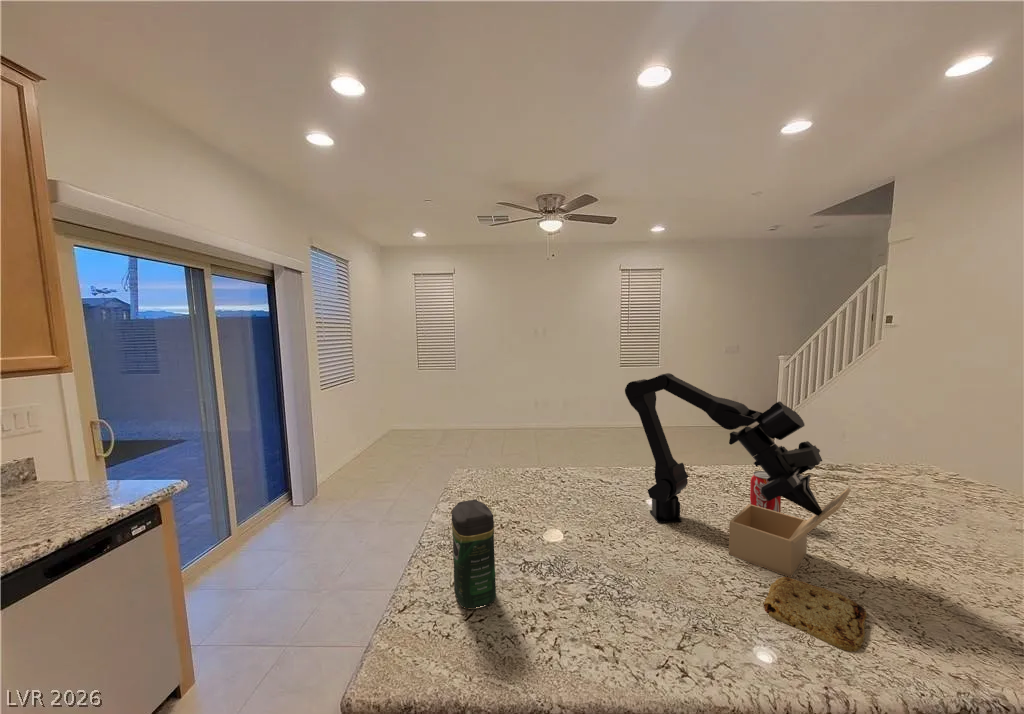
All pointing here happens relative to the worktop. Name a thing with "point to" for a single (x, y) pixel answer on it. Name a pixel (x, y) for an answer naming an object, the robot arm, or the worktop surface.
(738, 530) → the carton
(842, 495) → the lid flap
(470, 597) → the coffee jar
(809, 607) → the pastry
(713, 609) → the worktop surface
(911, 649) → the worktop surface
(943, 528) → the worktop surface
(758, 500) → the soda can
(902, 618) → the worktop surface
